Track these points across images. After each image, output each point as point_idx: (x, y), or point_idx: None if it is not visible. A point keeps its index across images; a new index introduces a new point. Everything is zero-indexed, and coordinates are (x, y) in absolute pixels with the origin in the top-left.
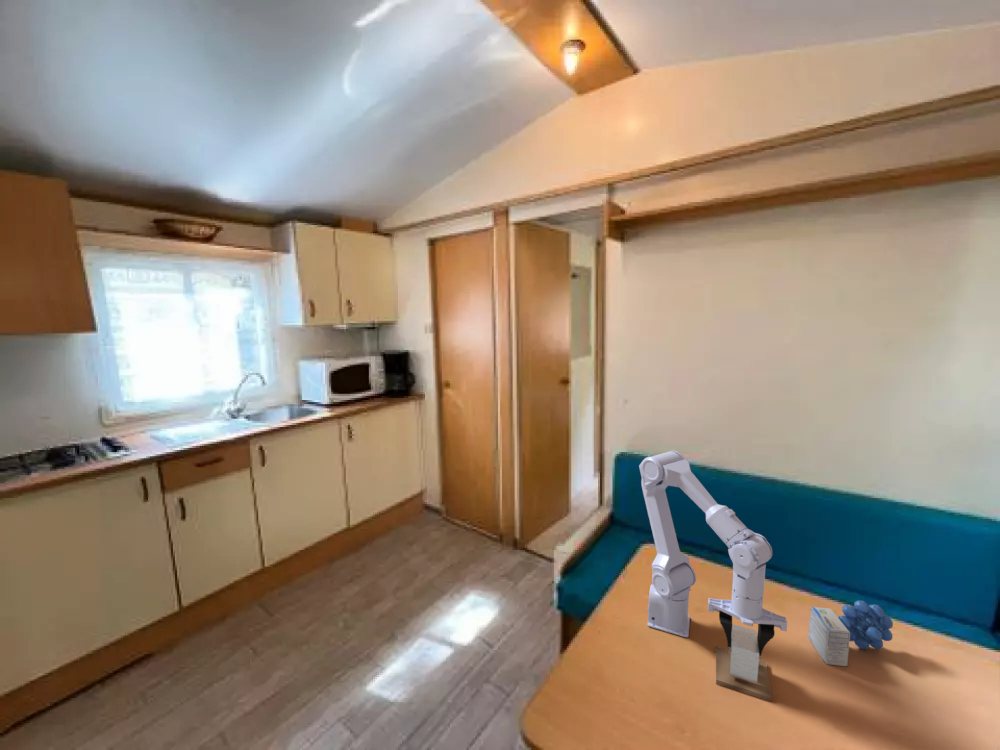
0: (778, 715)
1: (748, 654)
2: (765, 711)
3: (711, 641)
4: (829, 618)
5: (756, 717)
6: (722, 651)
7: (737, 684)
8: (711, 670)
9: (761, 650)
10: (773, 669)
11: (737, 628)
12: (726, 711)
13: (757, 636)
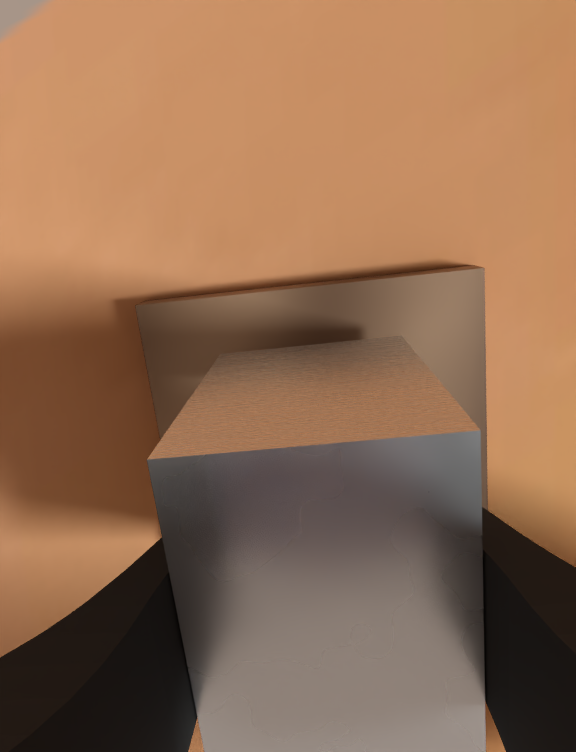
0: (97, 212)
1: (274, 427)
2: (169, 200)
3: None
4: None
5: (215, 111)
6: None
7: (343, 303)
8: (504, 371)
9: (148, 552)
10: None
11: (410, 748)
12: (401, 43)
13: (193, 721)
